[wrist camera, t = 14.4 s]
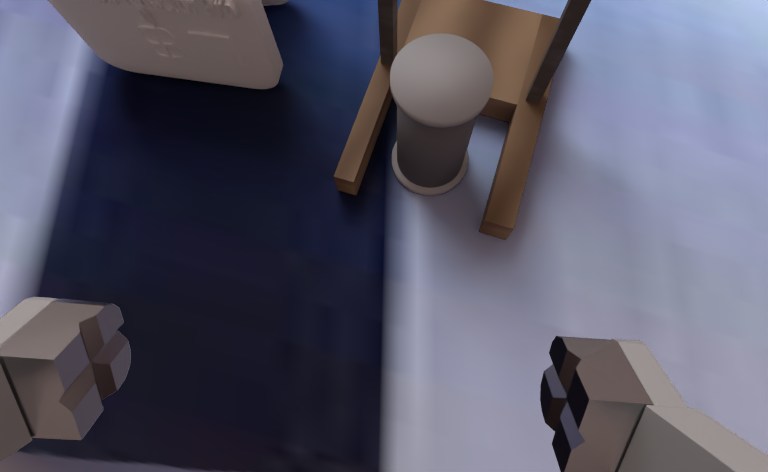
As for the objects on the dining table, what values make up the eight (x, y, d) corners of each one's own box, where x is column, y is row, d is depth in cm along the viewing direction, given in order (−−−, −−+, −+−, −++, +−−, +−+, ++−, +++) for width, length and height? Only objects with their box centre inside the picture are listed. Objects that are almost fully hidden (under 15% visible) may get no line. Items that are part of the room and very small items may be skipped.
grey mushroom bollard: (381, 183, 37) (376, 106, 27) (404, 119, 38) (407, 23, 28) (455, 204, 36) (478, 134, 26) (475, 138, 38) (504, 47, 27)
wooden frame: (337, 190, 37) (301, 70, 23) (408, 5, 42) (413, -185, 28) (505, 239, 35) (576, 144, 21) (557, 42, 40) (642, -140, 26)
